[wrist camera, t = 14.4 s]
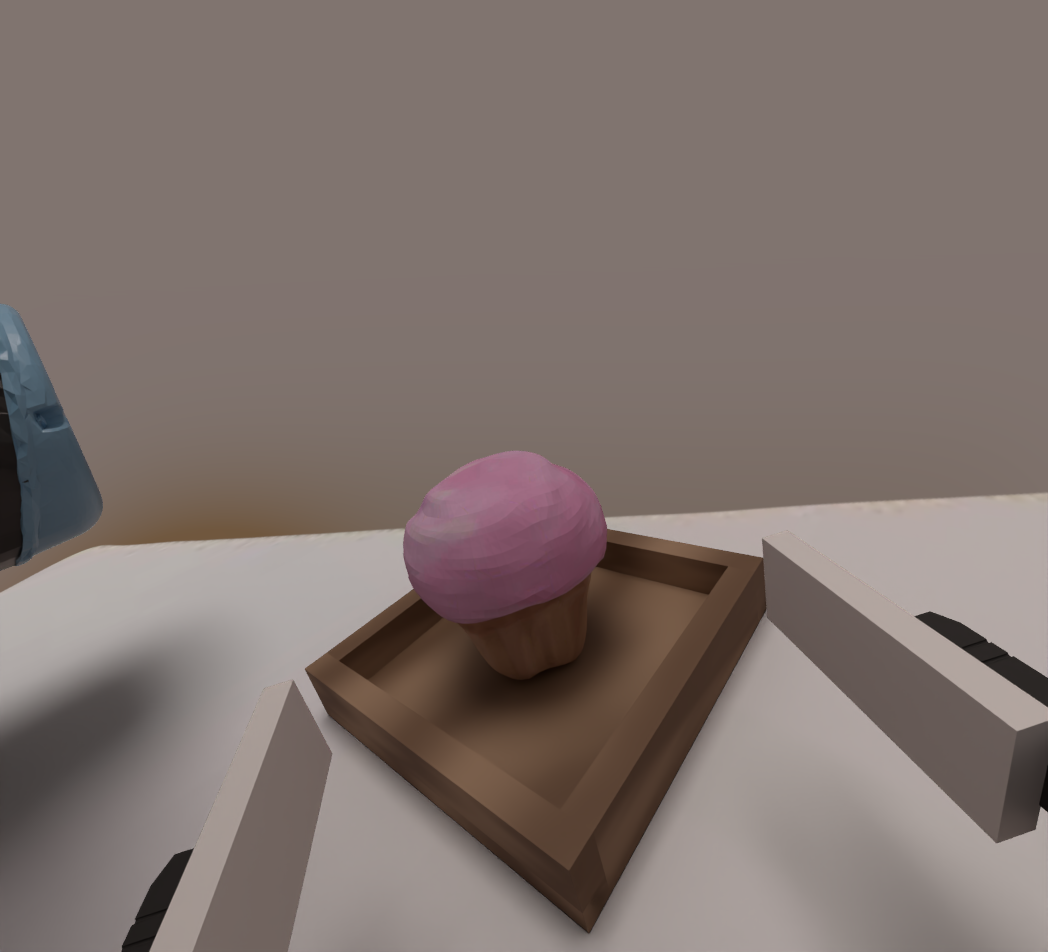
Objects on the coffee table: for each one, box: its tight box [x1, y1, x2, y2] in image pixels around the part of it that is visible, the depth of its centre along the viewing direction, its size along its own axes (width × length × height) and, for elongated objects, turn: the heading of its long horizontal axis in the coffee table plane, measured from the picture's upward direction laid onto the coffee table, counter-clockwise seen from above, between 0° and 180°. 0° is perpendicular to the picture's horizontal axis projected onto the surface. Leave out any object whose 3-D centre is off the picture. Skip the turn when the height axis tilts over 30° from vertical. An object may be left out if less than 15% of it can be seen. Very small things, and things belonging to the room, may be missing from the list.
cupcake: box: [403, 451, 607, 680], centre depth 23 cm, size 9×9×10 cm
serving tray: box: [305, 529, 767, 933], centre depth 25 cm, size 16×16×3 cm
